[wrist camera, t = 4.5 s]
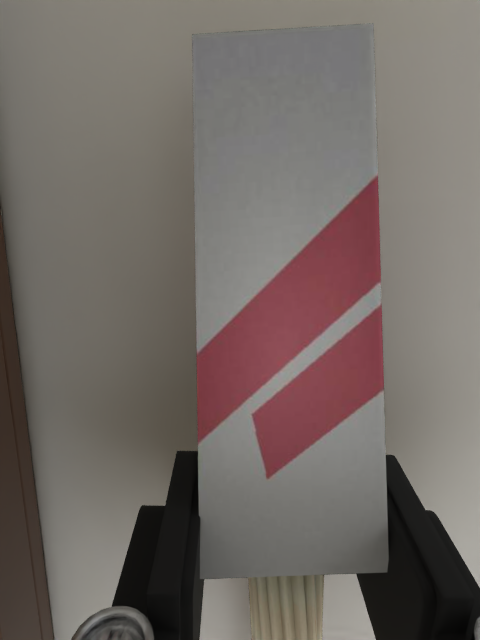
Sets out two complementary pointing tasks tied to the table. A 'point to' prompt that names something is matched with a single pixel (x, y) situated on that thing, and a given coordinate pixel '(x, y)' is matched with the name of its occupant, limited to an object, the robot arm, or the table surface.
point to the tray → (17, 494)
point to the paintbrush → (288, 317)
